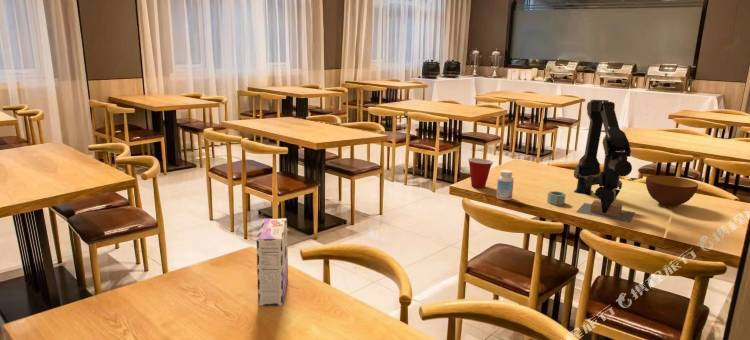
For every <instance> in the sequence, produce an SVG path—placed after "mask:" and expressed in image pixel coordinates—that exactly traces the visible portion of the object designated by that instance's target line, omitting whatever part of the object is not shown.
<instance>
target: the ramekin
mask: <svg viewBox="0 0 750 340" xmlns="http://www.w3.org/2000/svg"><path fill="white" fill-rule="evenodd" d="M546 200H547V205H553V206H564V205H565V204H566V203H565V202H566V193H565V192H562V191H554V190H552V191H549V192H548V193H547V199H546Z"/></svg>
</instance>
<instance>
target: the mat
mask: <svg viewBox="0 0 750 340" xmlns="http://www.w3.org/2000/svg"><path fill="white" fill-rule="evenodd" d="M591 204H592V203H588V202H587V203H586V202H584V203H582V205H581V206H580V207H579V208H578V209H577V210H576V211H575V213H578V214H583V215H588V216H593V217H599V218H604V219H609V220H610V219H611V220H615V221H620V222H623V223H624V222H625V223H631V222H632V219H633V217H634V215H635V214H636V211H629V210H625V209H622V210H621V214H620V215H619V217H615V216H610V215H604V214H599V213H594V212H590V210H591Z"/></svg>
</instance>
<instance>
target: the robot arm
mask: <svg viewBox="0 0 750 340" xmlns="http://www.w3.org/2000/svg"><path fill="white" fill-rule="evenodd" d="M615 106H616V104H615V102H613V101H609V100H607V99H591V100H590V101H588V102H587V105H586V110H587V111H586V112H587V113H586V114H587V117H588V118H589V127H588V133H587V138H586V144H585V149H584V154H583V156H581V158H580V159H579V161H578V164H577V166H576V167H575V169H574V170H573V178H575V179H576V180H577V181H576V183H577V184H576V189H575V190H573V193H574V194H575V193H577V194H582V195H588V196H591V195H592V194H593V193H594V196H595V197H597V198H598V199H599V200H600V201H601V205H602V212H603V213H606V212H607V210H608V209H609V207H610V205H611V204H612V203H614V201H615V200H616V199H617V196H618V195H619V193H620V192H621V189H622V188H623V182H622V181H621V180H620V177H626V176H629V175H630V174H631V172H632V170H633V166H632V164H631V162H630V161H628V158H630V157H631V153H632V150H631V146H630V141H629V139H628V137H627V134H626V132H624V131H623V130H622V129H621V128H620V126H619V122H618V117H617V115H616V110H615ZM602 128H603V129H604V133H605V136H604V137H603V140H602V147H603V150H604V162H603V169H602V172H601V167H600V166H601V164H600V162H599V159H598V158H597V156H598V151H599V146H600V141H601V134H602ZM592 186H598V187H597V188H596V189H595V192H594V190H592Z"/></svg>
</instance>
